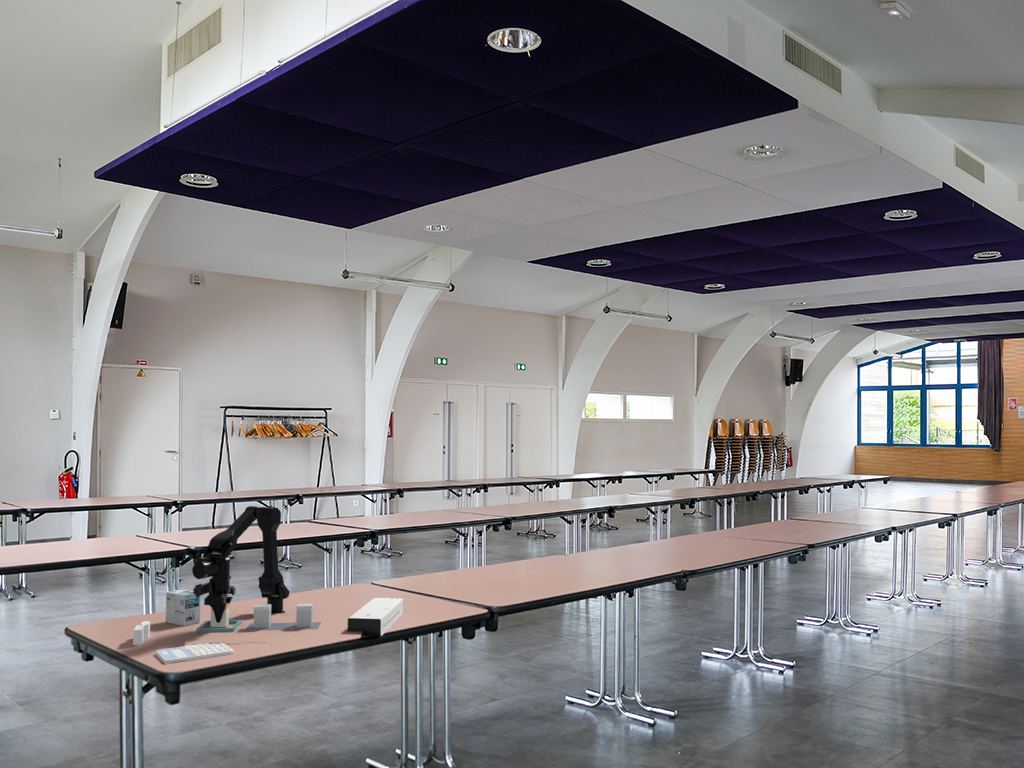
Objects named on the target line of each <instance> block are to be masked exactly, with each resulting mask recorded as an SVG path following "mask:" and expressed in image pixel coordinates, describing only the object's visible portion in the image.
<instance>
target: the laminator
mask: <svg viewBox="0 0 1024 768" xmlns="http://www.w3.org/2000/svg"><path fill="white" fill-rule="evenodd" d="M402 614H403V615H404V598H402V597H401V598H400V597H373V598H372V599H371V600H370V601H368V602H367V603H366V604H365V605H363V606H362V607H361V608H360V609H359V610H358V609H357V611H355V613H353V614H352V615H351V616H349V617H348V618H347V632H355V633H356V632H358V633H359V632H360V633H361V634H360V637H361V636H362V637H382V636H383V635H384V634H385V633H386V632H387V631H388V630H389V629H390V628H391V627H392V626H393V625H394V624H395V623H396V622H397V621H398V620H399V619H400V618H401V617H400V616H401V615H402ZM403 615H402V616H403ZM399 617H400V618H399ZM398 618H399V619H398ZM397 619H398V620H397ZM396 620H397V621H396ZM395 621H396V622H395ZM393 623H394V624H393ZM392 624H393V625H392ZM390 626H391V627H390ZM387 629H388V630H387ZM386 630H387V631H386ZM385 631H386V632H385ZM384 632H385V633H384Z"/></svg>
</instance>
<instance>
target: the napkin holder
mask: <svg viewBox="0 0 1024 768" xmlns="http://www.w3.org/2000/svg"><path fill="white" fill-rule="evenodd" d="M132 631H133V635H132V637H133V638H132V639H133V640H132V646H133V645H138V646H142V645H143V642H145V641H147V639H148V638H149V639H150V637H151V621H150V620H149V621H142V622H141V623H140V624H137V625H135V627H134V629H133V630H132ZM149 639H148V640H149ZM141 644H142V645H141Z"/></svg>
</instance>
